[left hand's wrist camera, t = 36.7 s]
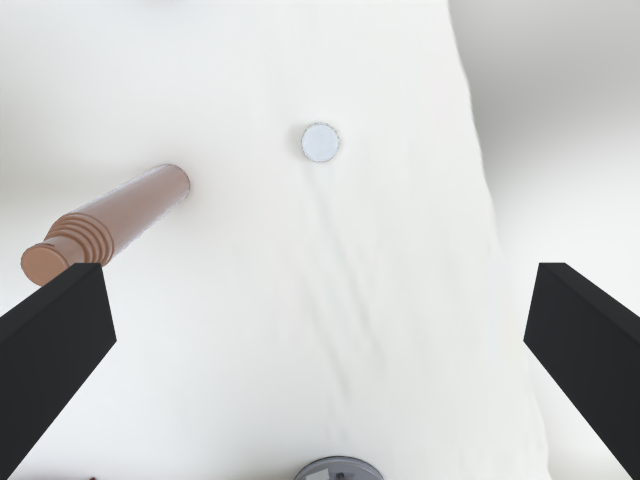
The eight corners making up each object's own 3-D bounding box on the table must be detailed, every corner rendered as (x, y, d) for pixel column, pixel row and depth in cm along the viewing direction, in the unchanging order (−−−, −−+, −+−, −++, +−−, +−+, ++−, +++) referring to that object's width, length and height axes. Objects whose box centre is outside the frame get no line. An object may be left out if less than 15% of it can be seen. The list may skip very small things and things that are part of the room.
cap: (313, 115, 46) (313, 116, 45) (345, 134, 47) (346, 136, 45) (295, 148, 48) (294, 150, 46) (326, 166, 48) (326, 169, 47)
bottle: (188, 165, 48) (74, 236, 26) (191, 203, 50) (85, 301, 28) (148, 163, 48) (-1, 232, 26) (152, 201, 50) (14, 298, 27)
